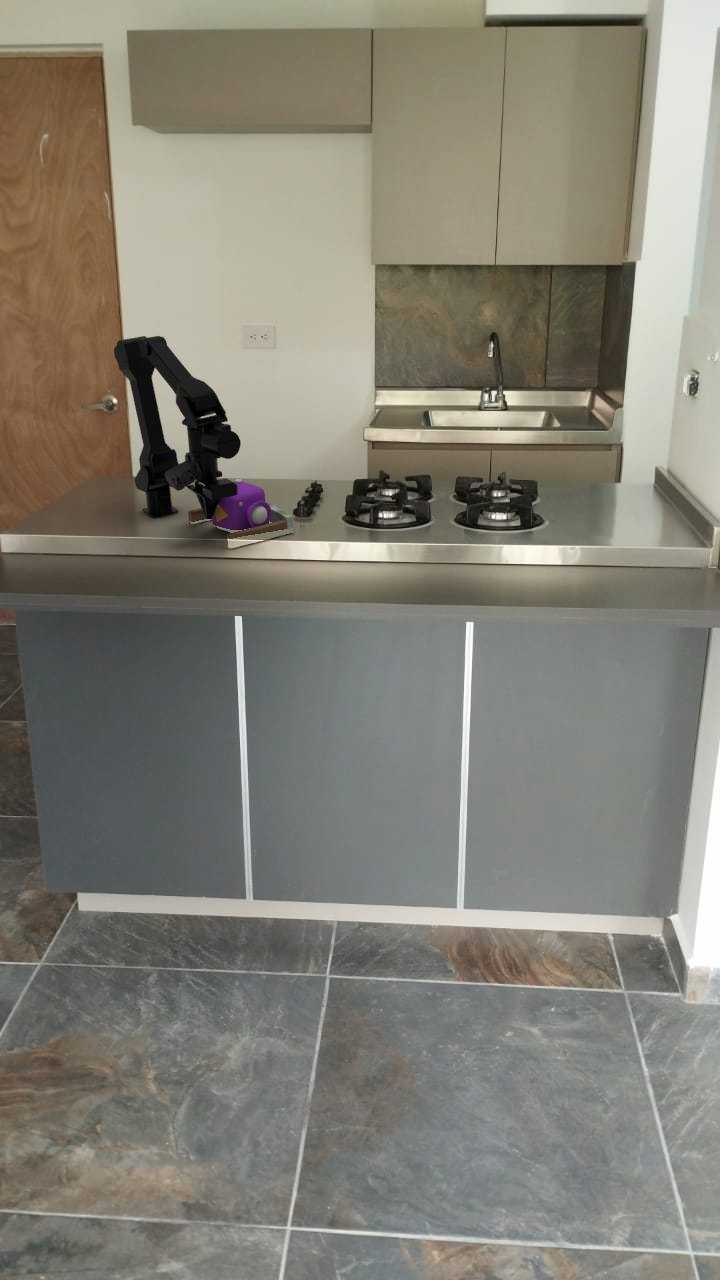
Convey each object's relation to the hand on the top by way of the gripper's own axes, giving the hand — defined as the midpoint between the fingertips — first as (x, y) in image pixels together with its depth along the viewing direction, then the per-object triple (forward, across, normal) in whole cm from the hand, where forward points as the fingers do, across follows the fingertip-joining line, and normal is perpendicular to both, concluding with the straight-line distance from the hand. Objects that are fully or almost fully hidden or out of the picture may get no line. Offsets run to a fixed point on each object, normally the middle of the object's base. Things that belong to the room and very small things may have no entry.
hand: (208, 518), depth 235 cm
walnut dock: (+4, 0, +8) cm, 9 cm away
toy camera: (+4, +2, +8) cm, 9 cm away
